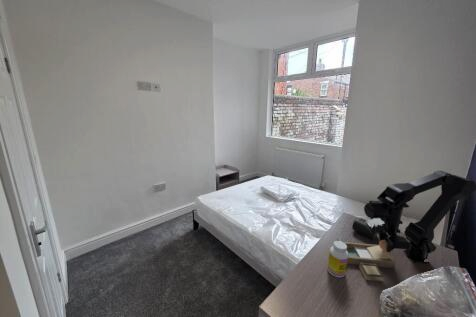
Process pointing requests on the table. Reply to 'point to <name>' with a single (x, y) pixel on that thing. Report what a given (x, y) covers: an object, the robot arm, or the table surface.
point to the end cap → (363, 228)
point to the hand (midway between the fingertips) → (384, 248)
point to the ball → (383, 244)
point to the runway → (368, 255)
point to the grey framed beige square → (371, 272)
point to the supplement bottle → (338, 259)
